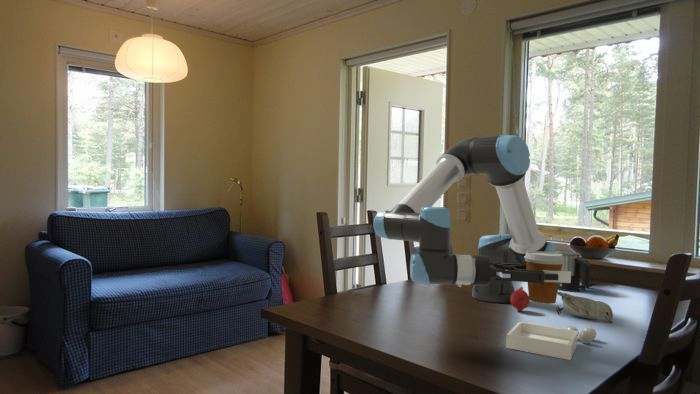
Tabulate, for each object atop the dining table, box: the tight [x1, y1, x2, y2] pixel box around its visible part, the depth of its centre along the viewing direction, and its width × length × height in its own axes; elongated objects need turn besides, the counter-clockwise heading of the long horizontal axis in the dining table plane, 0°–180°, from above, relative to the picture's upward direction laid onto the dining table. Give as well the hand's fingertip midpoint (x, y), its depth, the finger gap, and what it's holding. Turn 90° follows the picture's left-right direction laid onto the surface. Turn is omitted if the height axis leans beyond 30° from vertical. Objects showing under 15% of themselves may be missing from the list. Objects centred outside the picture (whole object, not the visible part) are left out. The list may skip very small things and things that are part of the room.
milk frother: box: [556, 251, 598, 292], centre depth 197 cm, size 14×16×15 cm
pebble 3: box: [582, 326, 597, 341], centre depth 128 cm, size 3×3×3 cm
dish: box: [505, 321, 579, 361], centre depth 121 cm, size 15×15×3 cm
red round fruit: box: [510, 286, 531, 312], centre depth 157 cm, size 6×6×8 cm
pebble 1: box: [566, 326, 580, 336], centre depth 128 cm, size 3×3×3 cm
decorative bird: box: [555, 291, 614, 324], centre depth 150 cm, size 5×16×7 cm, turn 56°
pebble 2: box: [578, 330, 594, 344], centre depth 125 cm, size 3×3×3 cm
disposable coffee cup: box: [524, 251, 565, 305], centre depth 121 cm, size 10×10×12 cm
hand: (562, 273), depth 121 cm, fingers closed on disposable coffee cup, 8 cm apart
